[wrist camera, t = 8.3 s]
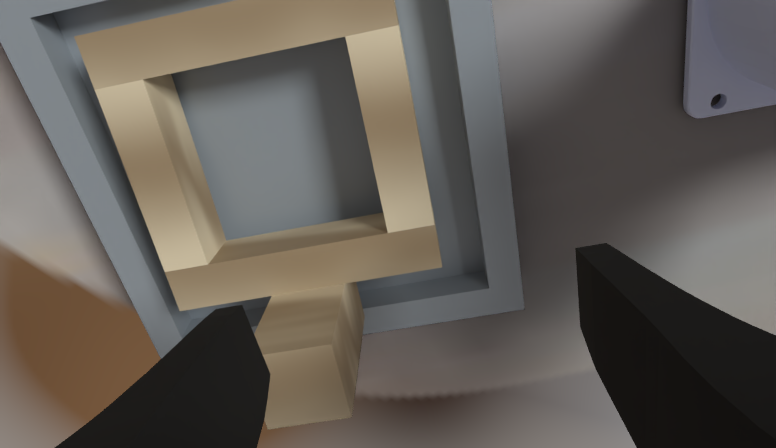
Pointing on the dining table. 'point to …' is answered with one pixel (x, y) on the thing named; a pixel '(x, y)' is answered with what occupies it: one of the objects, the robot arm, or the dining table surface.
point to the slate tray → (293, 152)
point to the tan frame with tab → (282, 248)
